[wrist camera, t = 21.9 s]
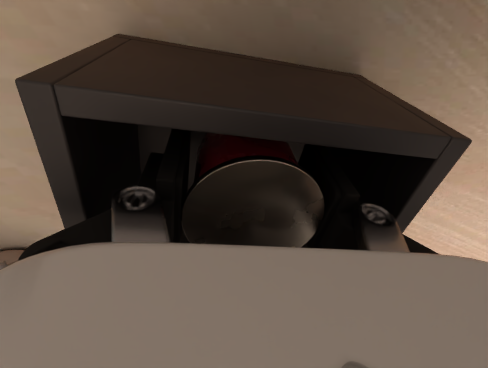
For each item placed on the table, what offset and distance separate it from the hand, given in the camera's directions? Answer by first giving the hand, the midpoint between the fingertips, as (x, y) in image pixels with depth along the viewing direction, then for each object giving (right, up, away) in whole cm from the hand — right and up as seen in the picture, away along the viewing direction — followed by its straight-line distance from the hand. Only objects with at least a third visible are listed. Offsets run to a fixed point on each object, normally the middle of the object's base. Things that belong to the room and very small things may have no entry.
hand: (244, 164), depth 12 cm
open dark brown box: (-1, 0, +6) cm, 6 cm away
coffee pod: (0, 0, 0) cm, 0 cm away
